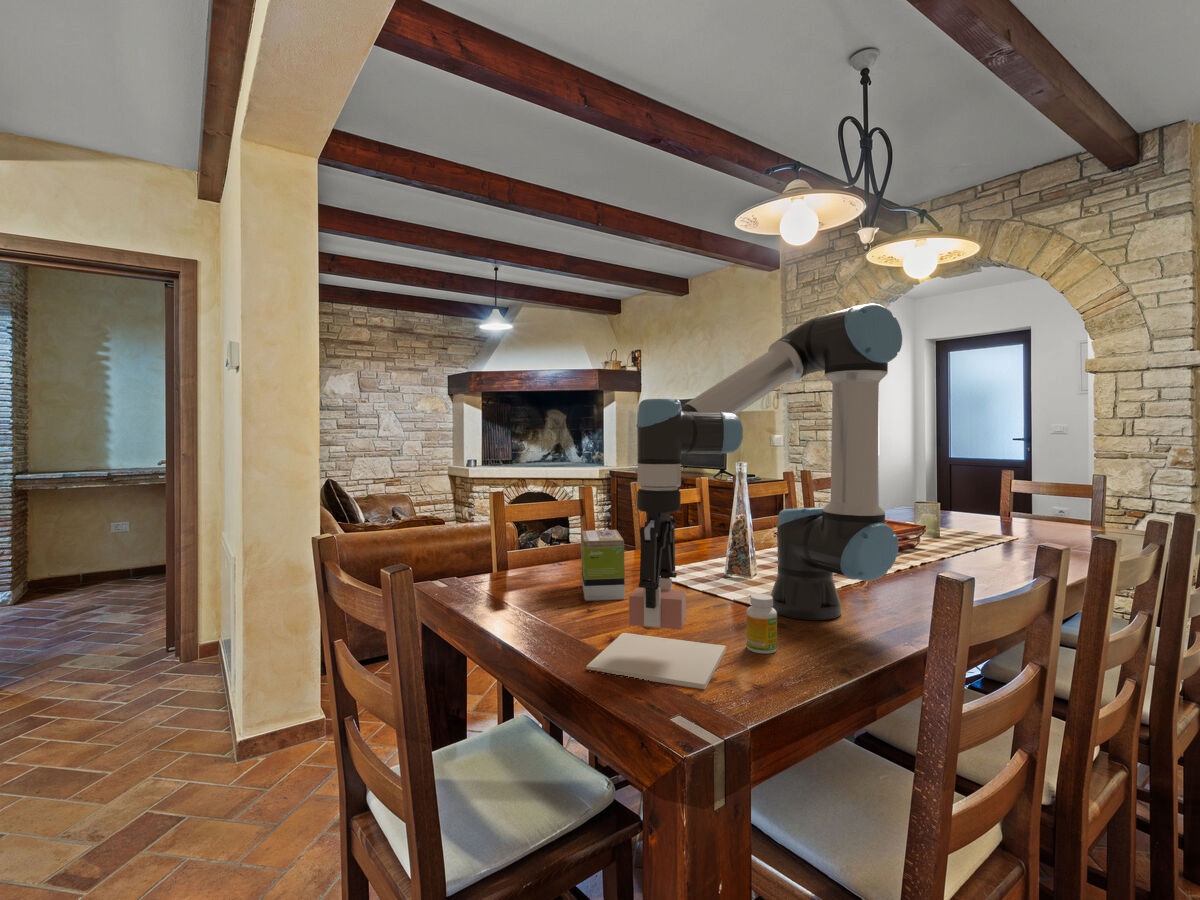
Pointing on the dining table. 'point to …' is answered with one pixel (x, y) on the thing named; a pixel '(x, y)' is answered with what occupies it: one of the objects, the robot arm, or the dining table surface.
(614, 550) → the tea box
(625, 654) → the mat
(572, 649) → the dining table surface
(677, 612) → the reddish brown rectangular block
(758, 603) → the supplement bottle
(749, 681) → the dining table surface
